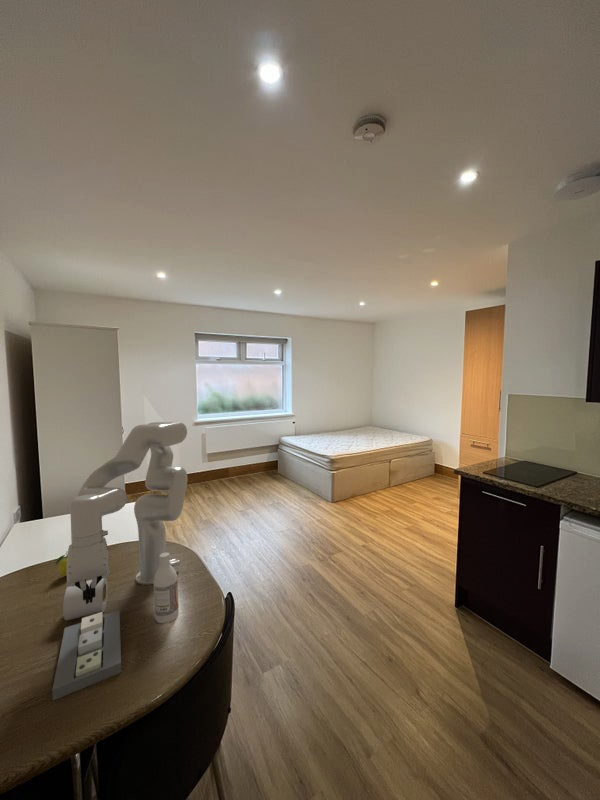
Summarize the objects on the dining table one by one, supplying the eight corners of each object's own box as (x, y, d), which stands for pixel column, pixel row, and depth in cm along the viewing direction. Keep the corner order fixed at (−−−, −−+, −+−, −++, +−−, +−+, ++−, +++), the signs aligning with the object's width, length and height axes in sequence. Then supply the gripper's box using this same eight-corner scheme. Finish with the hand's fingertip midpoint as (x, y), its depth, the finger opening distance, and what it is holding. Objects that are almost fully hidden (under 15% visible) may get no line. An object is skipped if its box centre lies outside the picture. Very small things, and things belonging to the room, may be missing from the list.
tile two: (102, 637, 92) (101, 626, 92) (101, 649, 87) (101, 638, 87) (80, 645, 89) (79, 633, 89) (78, 658, 85) (78, 646, 84)
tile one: (103, 621, 98) (102, 611, 98) (102, 632, 94) (102, 621, 94) (82, 628, 96) (82, 617, 95) (81, 639, 91) (80, 628, 91)
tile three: (101, 660, 85) (101, 648, 85) (101, 674, 81) (100, 662, 81) (78, 669, 83) (77, 657, 82) (76, 684, 78) (75, 672, 78)
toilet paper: (64, 628, 98) (62, 596, 98) (73, 607, 107) (72, 578, 107) (102, 618, 102) (100, 587, 101) (108, 599, 111) (106, 571, 111)
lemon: (55, 583, 121) (54, 557, 121) (58, 575, 126) (57, 550, 126) (77, 577, 124) (76, 552, 124) (79, 570, 130) (77, 546, 129)
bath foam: (179, 619, 100) (177, 556, 99) (155, 627, 97) (152, 562, 96) (177, 606, 106) (175, 547, 106) (154, 613, 103) (152, 552, 103)
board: (119, 617, 102) (119, 610, 102) (121, 672, 82) (121, 662, 82) (65, 636, 95) (64, 627, 94) (52, 700, 75) (52, 690, 75)
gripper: (116, 528, 100) (118, 586, 101) (57, 540, 93) (59, 602, 93) (116, 536, 94) (119, 598, 94) (53, 550, 86) (55, 617, 87)
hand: (89, 600), depth 94 cm, fingers closed
